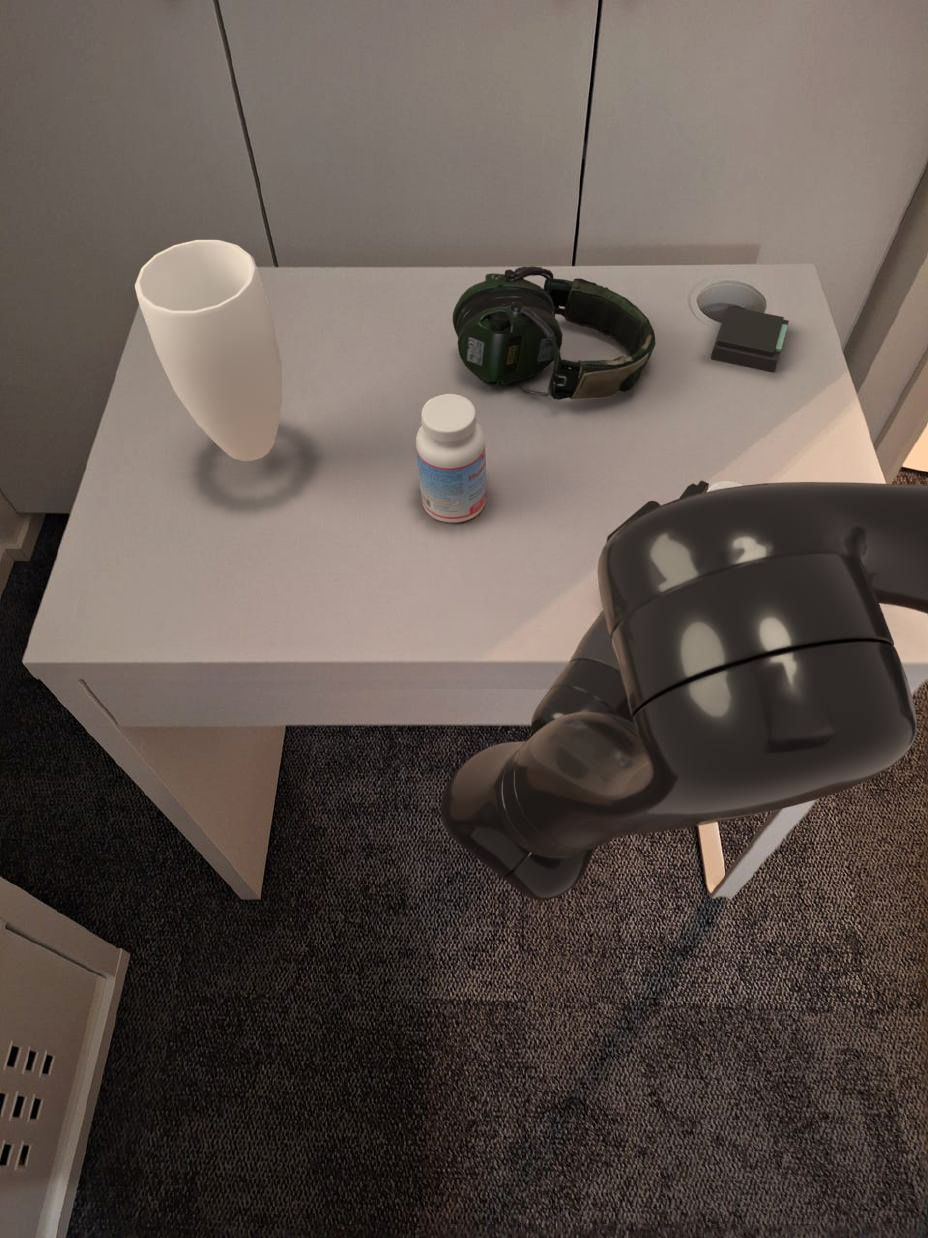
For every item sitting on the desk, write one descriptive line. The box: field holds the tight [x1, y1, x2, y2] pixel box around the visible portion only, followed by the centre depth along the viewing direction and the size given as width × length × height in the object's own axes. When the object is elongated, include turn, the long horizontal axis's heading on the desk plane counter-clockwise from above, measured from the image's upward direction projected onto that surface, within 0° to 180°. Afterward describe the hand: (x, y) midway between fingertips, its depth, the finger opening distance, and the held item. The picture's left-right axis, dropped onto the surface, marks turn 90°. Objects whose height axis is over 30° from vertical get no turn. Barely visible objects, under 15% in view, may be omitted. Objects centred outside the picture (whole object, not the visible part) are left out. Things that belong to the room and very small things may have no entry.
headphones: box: [452, 265, 656, 401], centre depth 93 cm, size 13×13×20 cm
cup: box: [134, 239, 283, 462], centre depth 81 cm, size 10×10×22 cm
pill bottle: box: [415, 393, 487, 523], centre depth 82 cm, size 6×6×11 cm
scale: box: [710, 305, 790, 373], centre depth 96 cm, size 7×7×2 cm
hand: (736, 503), depth 76 cm, fingers closed on supplement bottle, 5 cm apart
